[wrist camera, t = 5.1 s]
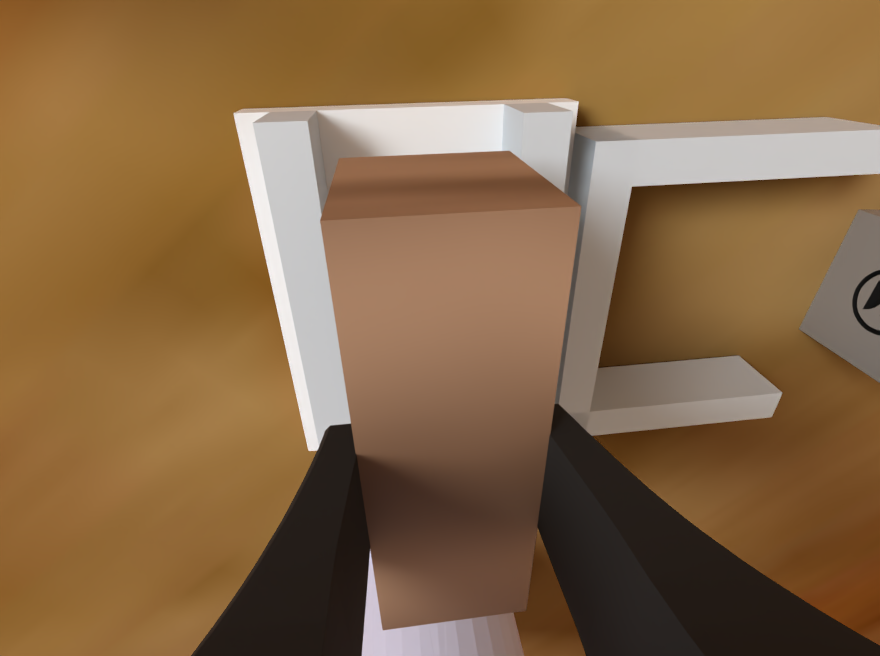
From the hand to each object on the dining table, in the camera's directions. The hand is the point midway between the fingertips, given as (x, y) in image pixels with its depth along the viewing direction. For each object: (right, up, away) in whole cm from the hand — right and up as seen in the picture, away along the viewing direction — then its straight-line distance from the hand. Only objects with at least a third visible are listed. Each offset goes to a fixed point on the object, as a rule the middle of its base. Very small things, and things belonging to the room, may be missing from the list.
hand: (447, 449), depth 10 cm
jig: (+3, +4, +7) cm, 9 cm away
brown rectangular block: (0, +2, +2) cm, 3 cm away
